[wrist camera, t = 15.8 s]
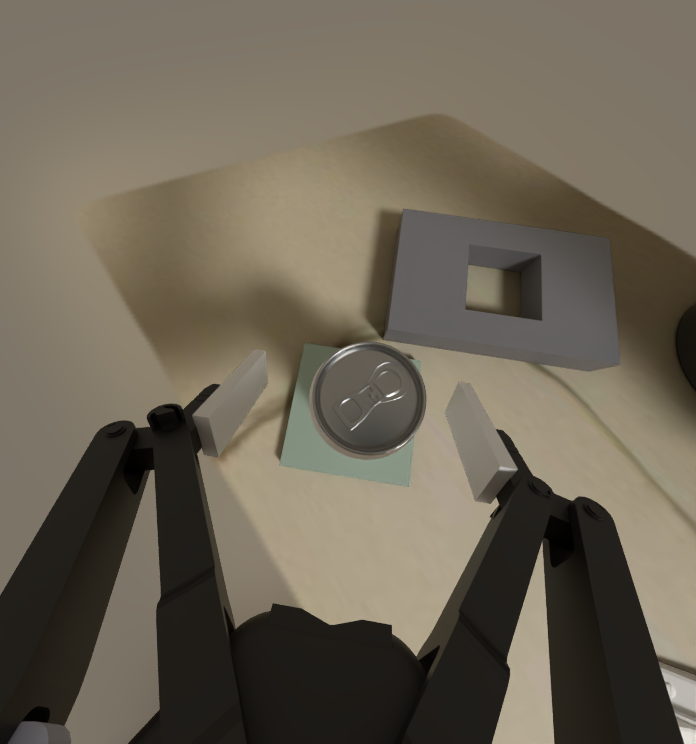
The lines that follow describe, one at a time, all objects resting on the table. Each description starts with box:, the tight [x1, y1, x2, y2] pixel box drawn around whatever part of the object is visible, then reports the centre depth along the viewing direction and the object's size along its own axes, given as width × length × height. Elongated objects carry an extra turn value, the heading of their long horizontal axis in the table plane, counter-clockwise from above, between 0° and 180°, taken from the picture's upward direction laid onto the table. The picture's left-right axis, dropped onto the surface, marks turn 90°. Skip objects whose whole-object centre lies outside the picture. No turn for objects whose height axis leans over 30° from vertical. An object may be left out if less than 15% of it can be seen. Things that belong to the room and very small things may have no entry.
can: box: [309, 342, 426, 460], centre depth 18 cm, size 6×6×12 cm
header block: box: [383, 209, 621, 371], centre depth 26 cm, size 22×14×3 cm, turn 81°
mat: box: [279, 343, 421, 487], centre depth 24 cm, size 12×12×1 cm
